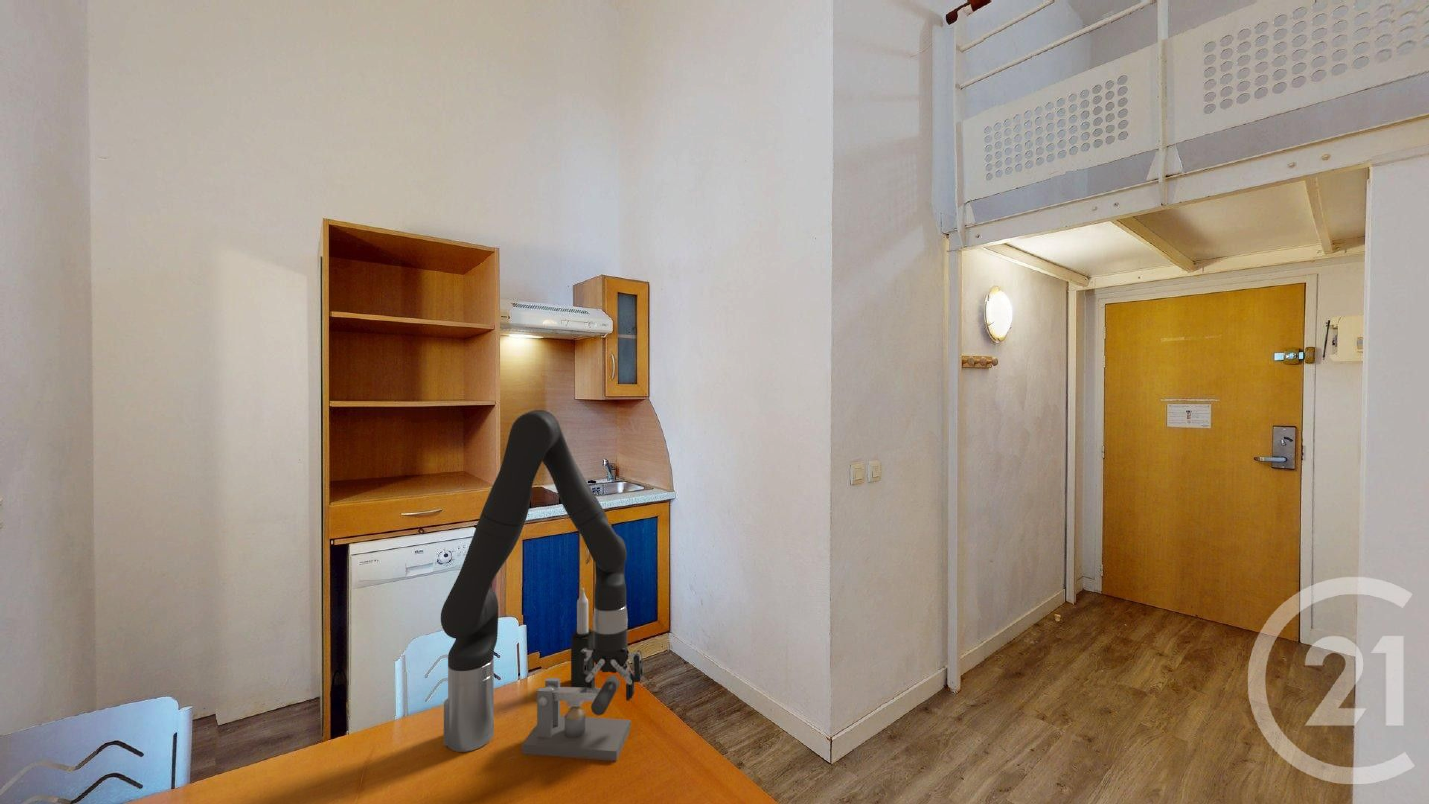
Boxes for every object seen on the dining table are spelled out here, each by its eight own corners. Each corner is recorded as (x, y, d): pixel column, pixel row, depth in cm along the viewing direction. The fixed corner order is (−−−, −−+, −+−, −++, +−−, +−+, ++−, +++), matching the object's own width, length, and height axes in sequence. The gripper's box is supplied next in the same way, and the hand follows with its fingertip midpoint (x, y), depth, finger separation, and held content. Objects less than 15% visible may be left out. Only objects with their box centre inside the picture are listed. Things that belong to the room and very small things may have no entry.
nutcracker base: (522, 753, 114) (522, 697, 114) (544, 723, 125) (544, 671, 125) (616, 760, 112) (616, 703, 112) (630, 728, 123) (630, 676, 123)
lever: (533, 716, 114) (532, 698, 114) (552, 690, 124) (551, 674, 124) (606, 718, 113) (605, 700, 113) (619, 692, 122) (619, 676, 122)
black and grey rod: (587, 688, 140) (587, 592, 140) (569, 686, 141) (569, 590, 141) (595, 678, 145) (595, 585, 145) (578, 676, 146) (578, 584, 146)
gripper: (573, 631, 118) (573, 705, 118) (637, 634, 116) (637, 709, 116) (585, 617, 125) (585, 687, 125) (645, 620, 124) (645, 690, 124)
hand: (610, 697), depth 121 cm, fingers open, 8 cm apart
